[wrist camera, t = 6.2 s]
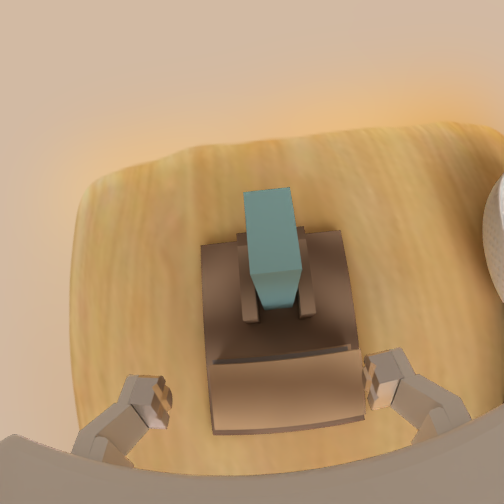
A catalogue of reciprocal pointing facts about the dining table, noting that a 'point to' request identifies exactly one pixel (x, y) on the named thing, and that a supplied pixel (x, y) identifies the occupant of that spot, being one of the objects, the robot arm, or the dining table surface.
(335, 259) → the rack
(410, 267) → the dining table surface
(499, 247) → the cereal bowl
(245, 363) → the offcut stack
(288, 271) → the tall board
